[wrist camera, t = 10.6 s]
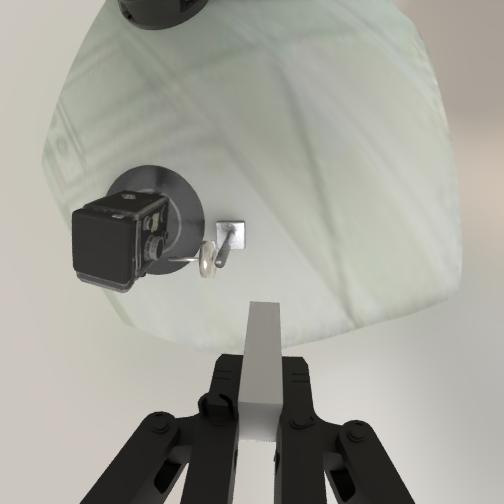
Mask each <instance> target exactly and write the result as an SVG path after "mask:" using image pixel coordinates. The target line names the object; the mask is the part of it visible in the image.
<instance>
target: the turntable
mask: <svg viewBox="0 0 504 504" xmlns="http://www.w3.org/2000/svg"><path fill="white" fill-rule="evenodd" d="M121 190H127V191H134V192H141V193H148V194H154V195H160V196H168V197H169V199H170V204H169V213H168V223H167V232H168V233H169V234H168V238H167V240H166V244H165V245H164V247H163V252H162V255H161V258H160V259H159V260H154V262H153V263H152V264H151V265H150V266H149V267H148V268H147V269H146V273H148V274H154V275H163V274H169V273H172V272H175V271H177V270H179V269H181V268H183V267H184V266H186V265H187V264H188V263H189V262H190V261H169V260H168V257H194V256H195V255H196V253H197V252H198V250H199V248H200V246H201V243H202V240H203V236H204V230H205V220H204V213H203V209H202V206H201V203H200V200H199V198H198V196H197V195H196V193H195V191H194V190H193V188H192V187H191V186H190V185H189V184H188V182H187V181H186V180H185V179H183V178H182V177H181V176H180V175H178V174H177V173H175V172H173V171H171V170H169V169H167V168H163V167H160V166H140V167H136V168H133V169H131V170H129V171H127V172H125V173H124V174H122V175H121V176H120V177H119V178H118V179H117V180H116V181H115V182H114V183H113V184H112V186H111V187H110V189H109V191H108V193H107V195H106V196H108V195H111V194H113V193H116V192H118V191H121Z"/></svg>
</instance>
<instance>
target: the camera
mask: <svg viewBox="0 0 504 504" xmlns="http://www.w3.org/2000/svg"><path fill="white" fill-rule="evenodd" d="M169 204H170V199H169V197H168V196H160V195H154V194H148V193H141V192H134V191H127V190H121V191H118V192H116V193H113V194H111V195H108V196H105V197H103V198H100V199H98V200H95V201H93V202H90V203H88V204H86V205H84V206H83V209H81V208H80V209H78V210H75V211H74V212H73V213H72V254H73V268H74V270H75V271H76V273H77V277H78V278H79V279H80V280H81V281H82V282H85V283H89V284H92V285H96V286H99V287H102V288H106V289H109V290H113V291H116V292H120V293H125V292H128V291H129V289H130V288H131V287H132V285H133V284H134V281H136V280H137V279H138V278H139V277H144V276H145V275H146V269H147V268H148V267H149V266H150V265H151V264H152V263H153V262H154V260H159V259H160V258H161V255H162V252H163V247H164V245H165V244H166V240H167V238H168V234H169V233H168V232H167V223H168V213H169Z"/></svg>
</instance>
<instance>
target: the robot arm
mask: <svg viewBox="0 0 504 504" xmlns="http://www.w3.org/2000/svg"><path fill="white" fill-rule="evenodd" d="M117 1H118V4H119V7H120V10H121V12H122V14H123V16H124V17H125V18H126V19H127V20H128V21H129V22H131V23H132V24H133V25H135V26H137V27H139V28H142V29H147V30H159V29H165V28H169V27H172V26H175V25H178V24H180V23H182V22H184V21H186V20H188V19H189V18H191V17H192V16H194V15H195V14H196V13H198V12H199V11H200V10H201V9H202V8H203V7H204V6H205V5H206V3H207V2H208V0H117ZM198 408H199V413H198V414H196V415H194V416H190V417H183V418H175V417H174V416H173V415H171V414H170V413H167V412H163V411H161V412H154V413H151V414H149V415H148V416H147V417H146V418H145V419H144V420H143V421H142V422H141V424H140V425H139V427H138V428H137V429H136V431H135V432H134V433H133V434H132V436H131V437H130V438H129V440H128V441H127V442H126V444H125V445H124V446H123V448H122V449H121V450H120V452H119V453H118V454H117V456H116V457H115V458H114V460H113V461H112V462H111V464H110V465H109V466H108V467H107V469H106V470H105V471H104V473H103V474H102V475H101V477H100V478H99V479H98V480H97V482H96V483H95V484H94V486H93V487H92V488H91V490H90V491H89V492H88V493H87V495H86V496H85V497H84V499H83V500H82V501H81V502H80V504H163V503H164V502H165V500H166V498H167V497H168V495H169V493H170V492H171V490H172V488H173V487H174V485H175V483H176V481H177V480H178V478H179V476H180V474H181V473H182V471H183V469H184V468H185V466H186V464H187V463H189V466H188V471H187V475H186V480H185V484H184V489H183V494H182V498H181V502H180V504H232V501H233V492H234V484H235V474H236V465H237V456H238V441H239V440H245V441H264V442H265V441H266V442H276V452H275V456H274V461H275V480H274V481H275V482H274V504H327V498H326V487H325V477H324V471H325V473H326V476H327V478H328V481H329V483H330V486H331V488H332V490H333V493H334V495H335V498H336V500H337V502H338V504H415V502H414V500H413V499H412V497H411V495H410V493H409V491H408V490H407V488H406V486H405V484H404V482H403V481H402V479H401V477H400V475H399V474H398V472H397V470H396V468H395V467H394V465H393V463H392V461H391V460H390V458H389V456H388V454H387V453H386V451H385V449H384V447H383V446H382V444H381V442H380V441H379V439H378V437H377V435H376V433H375V432H374V430H373V428H372V427H371V426H370V425H369V424H368V423H366V422H364V421H359V420H351V421H349V422H346V423H344V424H343V425H337V424H333V423H329V422H325V421H324V420H322V419H320V418H319V417H318V416H317V415H316V413H315V411H314V408H313V400H312V392H311V384H310V376H309V369H308V364H307V363H306V361H305V360H304V359H303V357H285V356H284V357H283V356H282V354H281V329H280V306H279V303H271V302H251V301H250V307H249V316H248V324H247V332H246V340H245V348H244V355H232V354H222V355H221V356H220V357H219V358H218V359H217V361H216V363H215V368H214V372H213V376H212V381H211V385H210V390H209V392H208V393H205V394H204V395H203V396H202V397H200V399H199V401H198Z"/></svg>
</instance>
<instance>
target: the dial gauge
mask: <svg viewBox="0 0 504 504" xmlns="http://www.w3.org/2000/svg"><path fill="white" fill-rule="evenodd" d="M217 243H218V249H220V251H219V253H218V255H217V253H216V245H215V242H214V241H203V242H202V243H201V247H200V253H199V257H168V260H169V261H197V262H199V268H200V274H201V277H202V278H214V276H215V273H216V267H218V268H222V267H223V266H224V265H225V262H226V259H227V256H228V254H229V251H230V249H245V224H244V221H218V222H217Z"/></svg>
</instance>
